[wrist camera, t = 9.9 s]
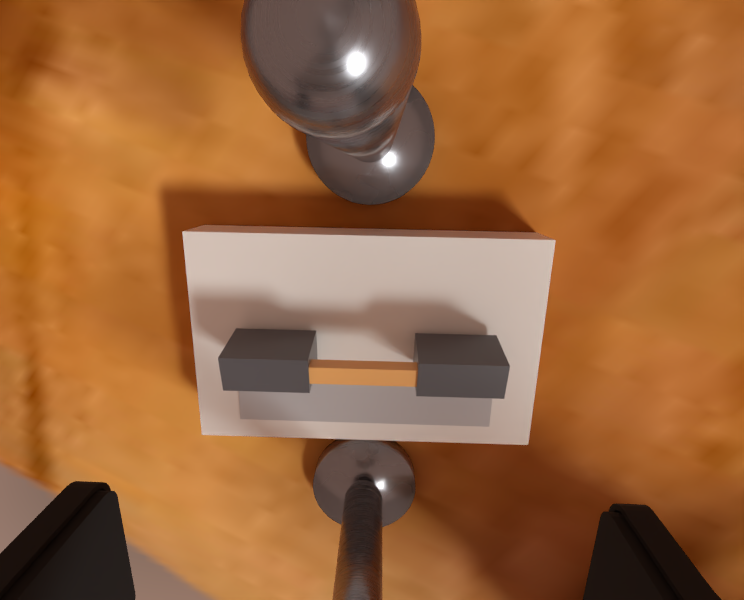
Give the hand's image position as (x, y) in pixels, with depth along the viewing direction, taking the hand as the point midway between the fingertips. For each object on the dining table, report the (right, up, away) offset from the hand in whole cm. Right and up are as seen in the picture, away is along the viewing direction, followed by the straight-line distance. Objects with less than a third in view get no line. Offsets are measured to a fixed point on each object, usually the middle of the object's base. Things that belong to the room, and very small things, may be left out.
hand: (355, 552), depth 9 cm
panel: (0, +3, +14) cm, 15 cm away
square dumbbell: (0, +3, +12) cm, 12 cm away
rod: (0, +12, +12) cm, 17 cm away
